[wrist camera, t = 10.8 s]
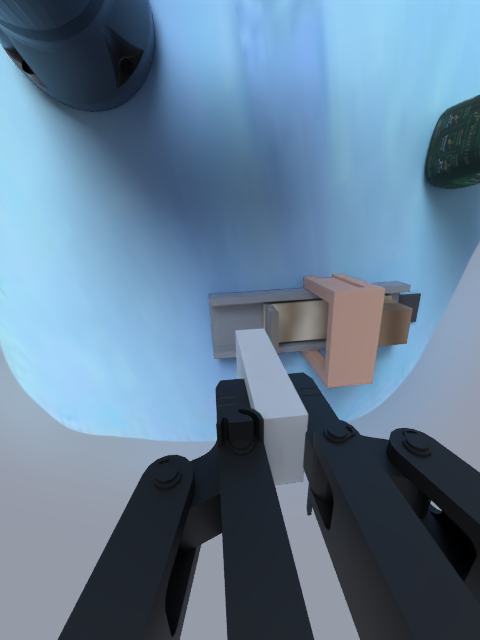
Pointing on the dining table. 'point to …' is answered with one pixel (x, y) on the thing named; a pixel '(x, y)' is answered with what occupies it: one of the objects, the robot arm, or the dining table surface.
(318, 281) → the tunnel
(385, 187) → the dining table surface
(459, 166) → the coffee jar
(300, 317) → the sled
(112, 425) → the dining table surface
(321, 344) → the rail
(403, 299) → the dark grey flat block
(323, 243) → the dining table surface
